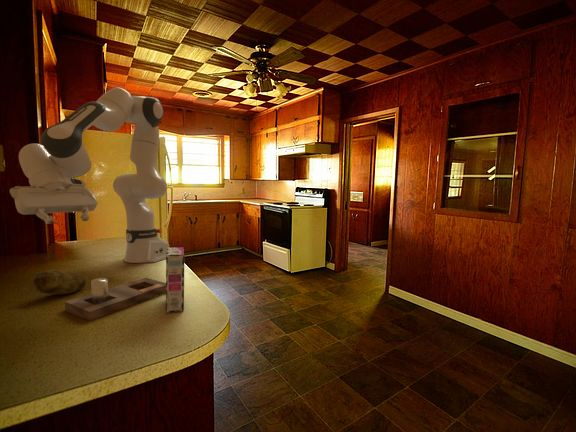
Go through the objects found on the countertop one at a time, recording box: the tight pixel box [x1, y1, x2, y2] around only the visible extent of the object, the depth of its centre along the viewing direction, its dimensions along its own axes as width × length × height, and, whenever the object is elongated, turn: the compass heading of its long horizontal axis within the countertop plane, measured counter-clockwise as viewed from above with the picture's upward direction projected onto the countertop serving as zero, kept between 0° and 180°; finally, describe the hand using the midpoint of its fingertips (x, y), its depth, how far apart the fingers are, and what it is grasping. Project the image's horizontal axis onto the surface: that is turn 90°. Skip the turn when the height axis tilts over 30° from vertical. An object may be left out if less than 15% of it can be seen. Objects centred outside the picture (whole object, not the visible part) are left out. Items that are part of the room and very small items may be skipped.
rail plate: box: [64, 277, 166, 322], centre depth 89 cm, size 25×12×3 cm, turn 152°
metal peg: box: [90, 277, 109, 305], centre depth 83 cm, size 4×4×8 cm
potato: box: [32, 269, 86, 296], centre depth 92 cm, size 8×13×8 cm, turn 128°
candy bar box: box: [165, 246, 185, 313], centre depth 86 cm, size 11×5×16 cm, turn 21°
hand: (69, 221), depth 88 cm, fingers open, 8 cm apart
